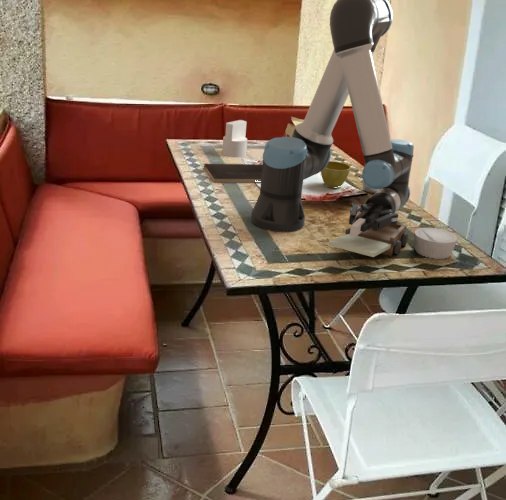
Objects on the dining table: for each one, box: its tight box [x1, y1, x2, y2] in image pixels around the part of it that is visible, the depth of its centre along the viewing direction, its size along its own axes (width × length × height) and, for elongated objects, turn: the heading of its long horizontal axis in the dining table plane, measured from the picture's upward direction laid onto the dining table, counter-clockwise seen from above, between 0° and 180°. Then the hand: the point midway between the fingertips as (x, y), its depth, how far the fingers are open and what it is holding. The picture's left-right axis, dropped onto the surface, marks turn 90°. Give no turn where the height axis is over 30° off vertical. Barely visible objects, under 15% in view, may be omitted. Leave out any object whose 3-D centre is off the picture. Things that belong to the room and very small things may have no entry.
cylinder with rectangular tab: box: [221, 119, 248, 158], centre depth 260 cm, size 9×9×12 cm
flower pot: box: [320, 160, 352, 188], centre depth 235 cm, size 10×10×7 cm
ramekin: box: [413, 227, 458, 260], centre depth 188 cm, size 11×11×5 cm
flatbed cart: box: [344, 222, 409, 257], centre depth 190 cm, size 13×14×5 cm
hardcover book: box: [203, 163, 263, 183], centre depth 238 cm, size 16×23×2 cm
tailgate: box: [327, 234, 391, 258], centre depth 177 cm, size 1×12×16 cm
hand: (353, 231), depth 167 cm, fingers closed
